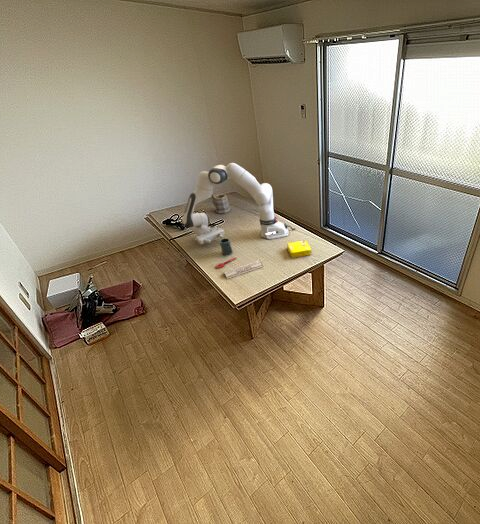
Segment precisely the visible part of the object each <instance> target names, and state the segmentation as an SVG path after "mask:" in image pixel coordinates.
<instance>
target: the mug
mask: <svg viewBox="0 0 480 524" xmlns="http://www.w3.org/2000/svg"><path fill="white" fill-rule="evenodd" d="M219 245H220V249H221V253H222V255H223V256H229V255H231V254H233V248H232V244H231V240H230V238H226V237H225V238H224V237H223V238H220V240H219Z"/></svg>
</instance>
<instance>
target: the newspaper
mask: <svg viewBox="0 0 480 524" xmlns="http://www.w3.org/2000/svg"><path fill="white" fill-rule="evenodd" d="M260 268H263V265H262V263H261V262H260V260H255V261H253V262H250V263H248V264H244V265H241V266H238V267H234V268H231V269H228V270H226V271H223V275H224V276H225V277H226V279H227V280H228V279H232V278H234V277H237V276H240V275H243V274H246V273H249V272H252V271H254V270H257V269H260Z"/></svg>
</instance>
